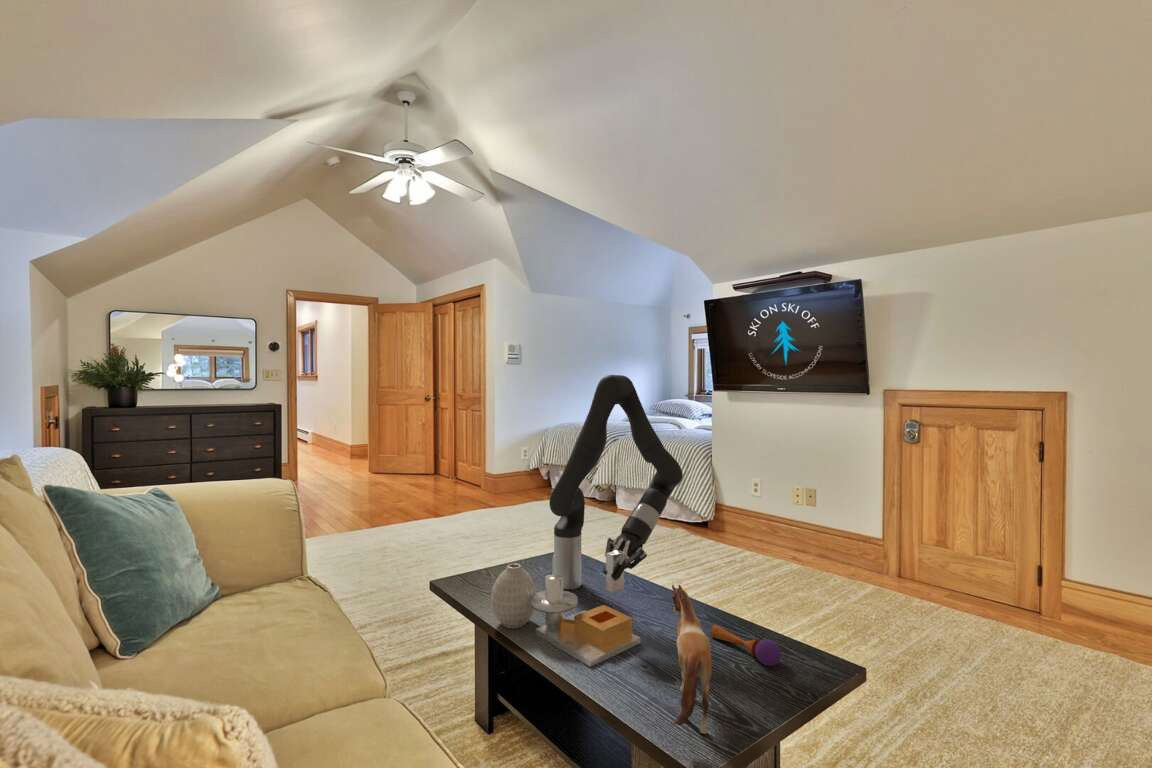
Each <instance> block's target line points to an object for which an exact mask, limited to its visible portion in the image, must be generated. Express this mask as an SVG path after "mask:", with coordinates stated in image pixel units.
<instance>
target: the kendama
mask: <svg viewBox="0 0 1152 768" xmlns="http://www.w3.org/2000/svg"><path fill="white" fill-rule="evenodd" d="M709 631H710V632H709V634H710V637H712V638H713V639H717V640H721V641H726V642H728V643H733V644H737V645H741V646H744V647H745V648H746V649H747V650H748V651H749V653H751V655H752V656H753V657H754V658H757V659H756V660H758V661H759V662H760V663H761V664H762V665H763V664H764V666H766V667H774V666H777V664H779V663H780V662H781V660H782V652H781V649H780V646H779V645H778V644H777V643H776V642H775V641H774V640H771V639H767V638H765V639H761V640H760V639H752V640H751V639H750V640H744V639H743V638H740V637H739V636H736V634H733V633H731V632H729V631H727V630H726V629H724V628H722V627H720V626H718V625H717V624H713V625H712V626H711V627H710V630H709Z"/></svg>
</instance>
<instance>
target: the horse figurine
mask: <svg viewBox="0 0 1152 768" xmlns="http://www.w3.org/2000/svg"><path fill="white" fill-rule="evenodd" d="M677 586H678V588H676V587H675V586H674V584H671V589H672V591H673V594H672V596H671V598H672V601H673V603H674V608H673V613H674V614H675V616H677V617H680V620H679V621H678V625H677V629H676V636H677V639H676V648H677V656H678V665H679V667H680V668H681V678H682V681H681V686H680V687H679V691H680V692H681V693H682V695H681V700H680V712H679V715H678V717H676V718H675V720H673V722H672V723H673V724H674V725H677V726H682V725H684V724H685V723H686V722H687V720H688V719H690V717H691V716H692V714H693V712H694V709H695V706H696V696H697V689H698V687H697V686H698V683H697V682H698V681H697V680H698V679H697V678H698V677H699V679H700V685H701V686H700V687H701V691H702V697H701V698H702V699H701V704H702V705H701V706H702V709H703V717H702V721H701V725H700V728H699V733H701V734H704V735H706V734H708V709H709V698H708V696H709V691H710V679H711V677H712V650H711V648H712V647H711V643H710V639H709V637H708V636H707V635H706V634H705V633H704V631H703V626H702V624H701V621H700V620H699V618H698V617H697V614H696V612H695V610H694V607H693V604H692V601H691V599H690V597H689V595H688V593H687V592H686V591H685V590H684V589H683V587H682V586H681V584H678V585H677Z"/></svg>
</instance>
